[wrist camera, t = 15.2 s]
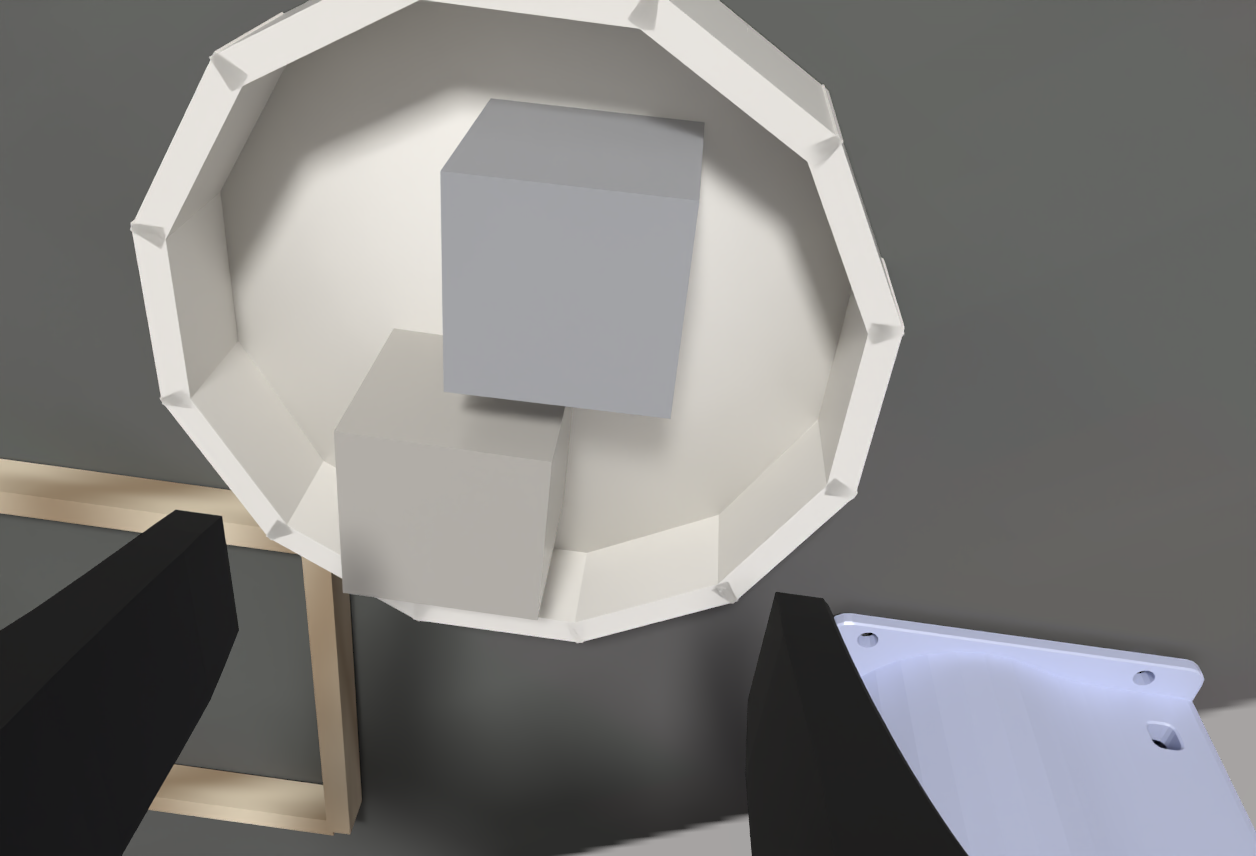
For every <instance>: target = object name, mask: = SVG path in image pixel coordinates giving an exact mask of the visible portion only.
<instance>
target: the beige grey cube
mask: <svg viewBox="0 0 1256 856" xmlns="http://www.w3.org/2000/svg"><path fill="white" fill-rule="evenodd" d="M572 413H573V407H566V406H558V405H550V404H541V403H533V402H524V401H516V400H508V399H499V398H491V397H482V396H474V395H466V394H457V393H449V392H444V383H443V335H437V334H430V333H423V332H416V331H409V330H402V329H395V328H393V330H392V332H391V334H390V335H389V337H388V339H387V341H386V342H385V344H384V346H383V347H382V349H381V351H380V353H379V354H378V356H377V358H376V360H375V361H374V363H373V365H372V366H371V368H370V370H369V372H368V373H367V375H366V377H365V378H364V380H363V382H362V384H361V385H360V387H359V389H358V391H357V392H356V394H355V396H354V397H353V399H352V401H351V403H350V404H349V406H348V408H347V410H346V411H345V413H344V415H343V416H342V418H341V420H340V422H339V423H338V425H337V427H336V428H335V430H334V443H335V461H336V478H337V496H338V513H339V531H340V549H341V566H342V584H343V593H348V594H355V595H362V596H369V597H376V598H383V599H390V600H397V601H404V602H412V603H419V604H426V605H433V606H440V607H447V608H454V609H461V610H468V611H475V612H482V613H489V614H496V615H503V616H510V617H517V618H524V619H531V620H538V616H539V611H540V607H541V602H542V598H543V593H544V589H545V584H546V579H547V575H548V570H549V566H550V561H551V557H552V552H553V547H554V543H555V538H556V534H557V529H558V525H559V520H560V515H561V511H562V506H563V502H564V493H565V483H566V473H567V463H568V453H569V443H570V433H571V423H572Z"/></svg>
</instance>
